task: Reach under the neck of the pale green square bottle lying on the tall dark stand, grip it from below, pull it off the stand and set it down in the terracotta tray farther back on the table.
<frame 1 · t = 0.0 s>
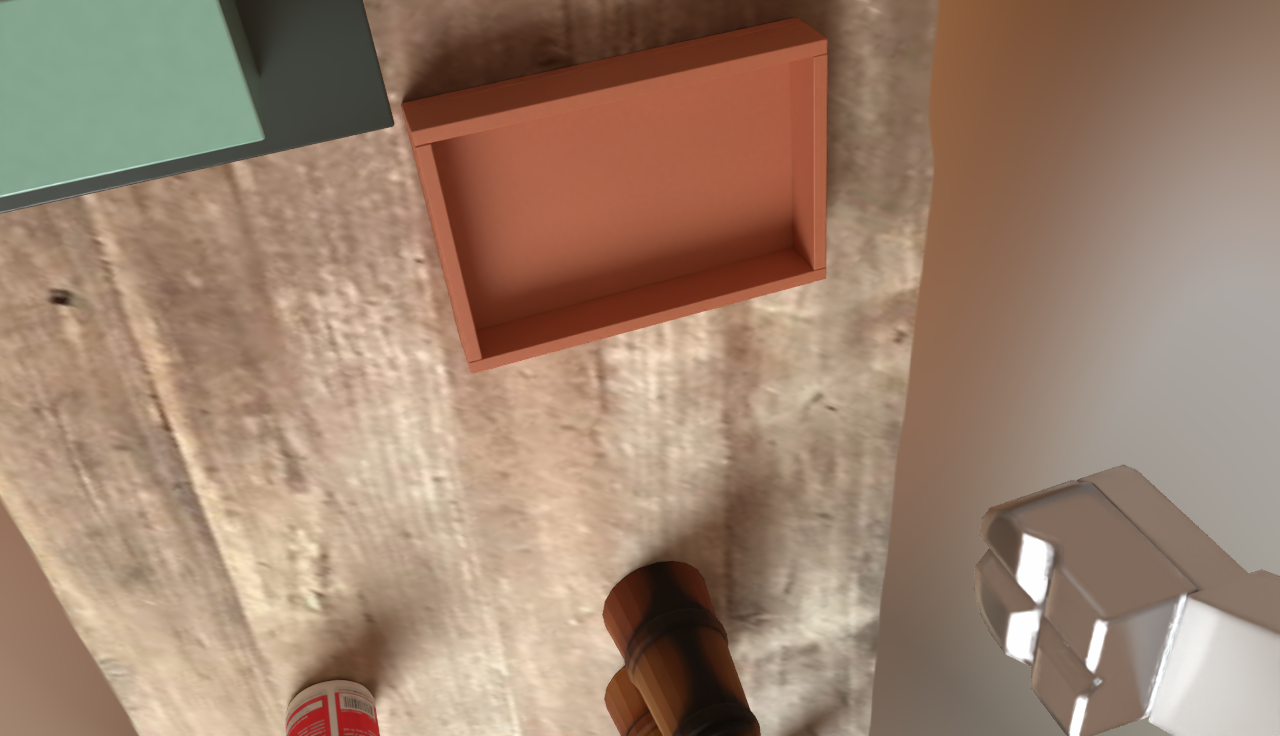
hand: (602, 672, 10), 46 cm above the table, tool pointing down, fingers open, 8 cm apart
tray: (621, 183, 60), on the table
binoculars: (653, 643, 83), on the table
pill bottle: (330, 703, 76), on the table
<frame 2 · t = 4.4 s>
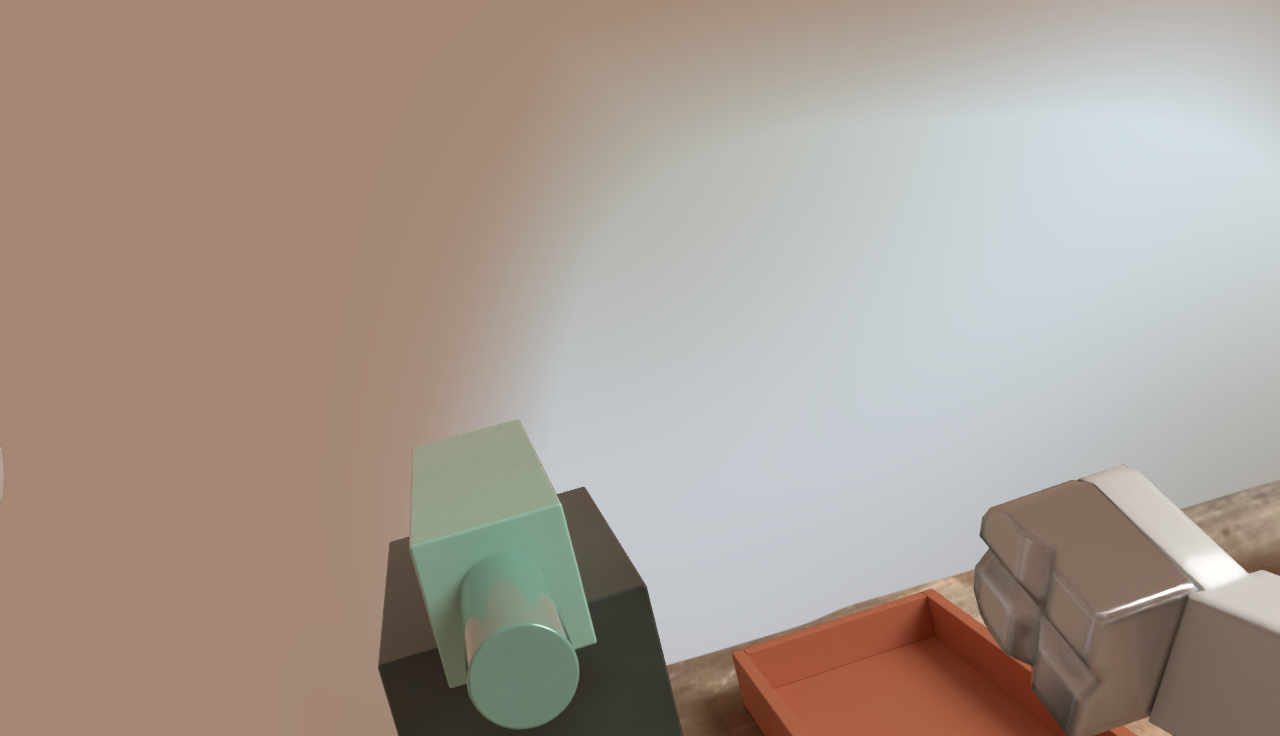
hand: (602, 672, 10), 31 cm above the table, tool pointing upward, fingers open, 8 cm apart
bottle: (514, 624, 31), point 24 cm above the table, touching stand
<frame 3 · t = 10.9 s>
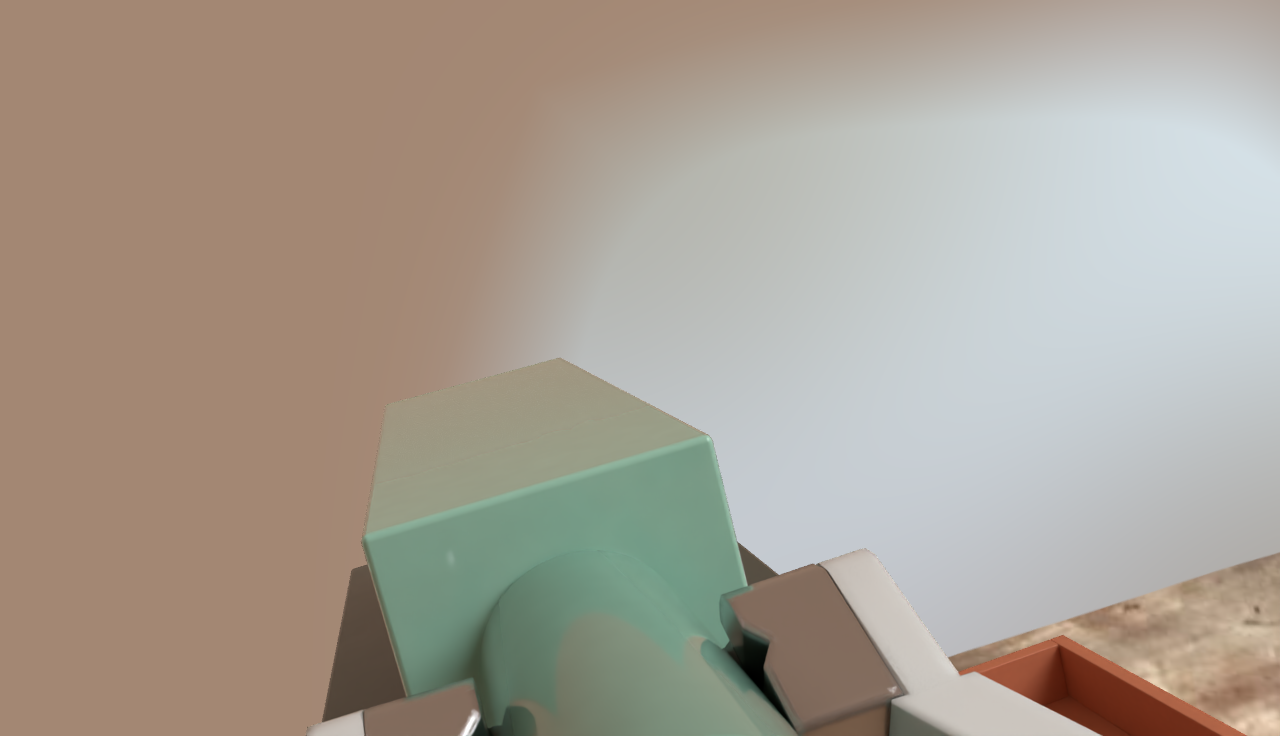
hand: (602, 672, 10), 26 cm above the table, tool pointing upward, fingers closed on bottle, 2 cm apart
bottle: (586, 711, 15), point 24 cm above the table, touching gripper, stand
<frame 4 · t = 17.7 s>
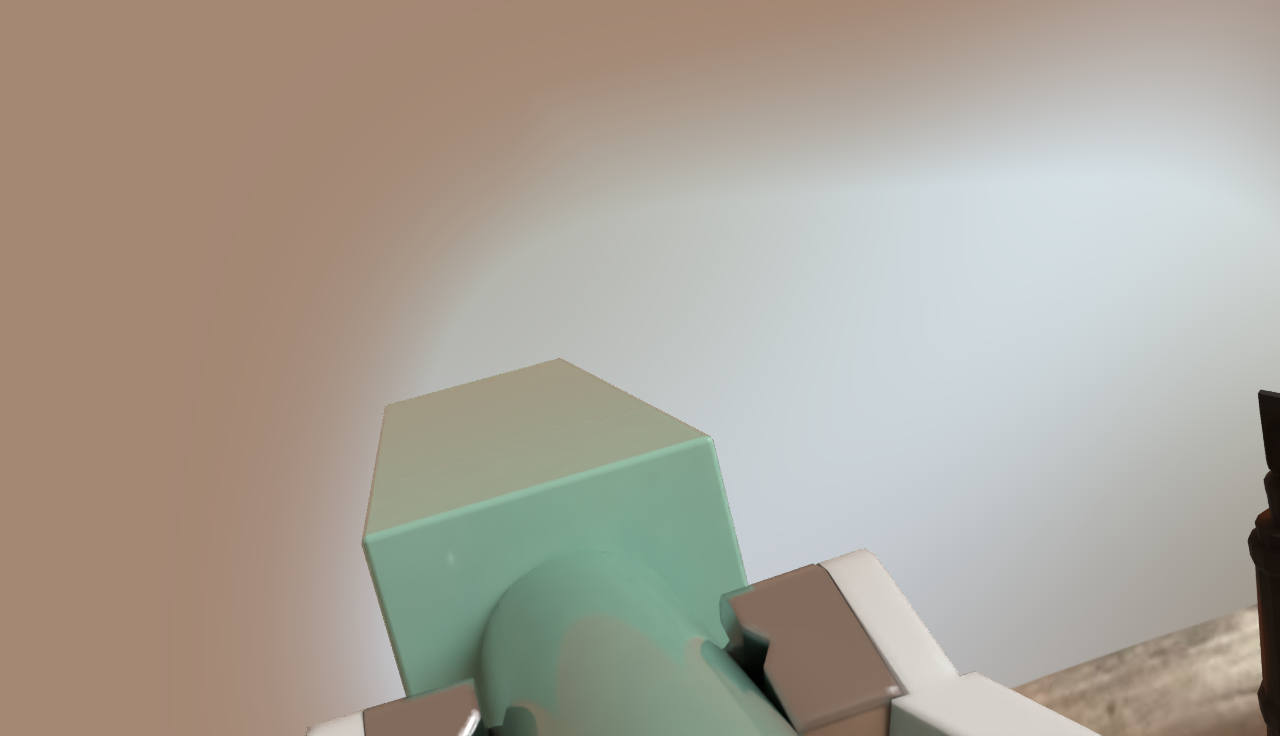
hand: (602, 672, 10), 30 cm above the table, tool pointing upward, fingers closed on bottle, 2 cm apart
bottle: (587, 712, 15), point 28 cm above the table, touching gripper
when the fingers open (20 cm above the table, at t = 24.6 s): bottle drops 15 cm, resting on tray.
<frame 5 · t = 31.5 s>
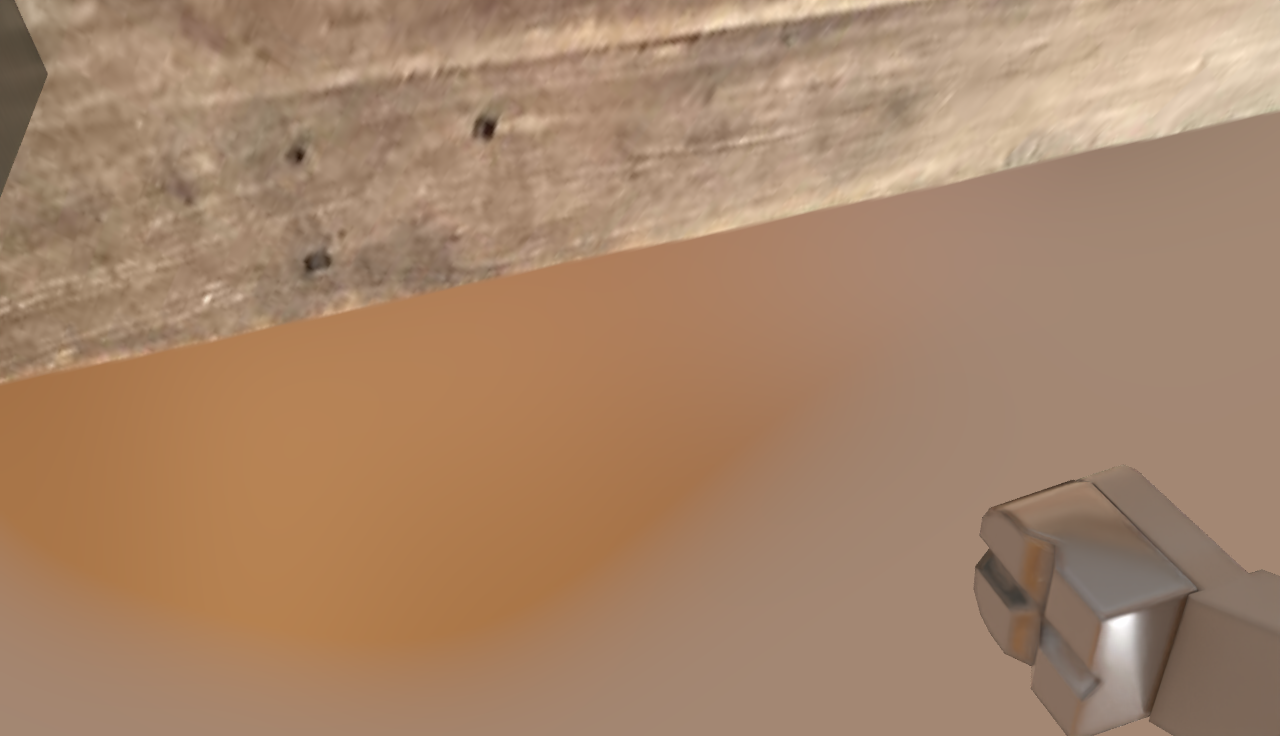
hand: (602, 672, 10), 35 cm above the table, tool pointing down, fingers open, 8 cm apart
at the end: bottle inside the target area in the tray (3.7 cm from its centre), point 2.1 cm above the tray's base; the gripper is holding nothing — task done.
